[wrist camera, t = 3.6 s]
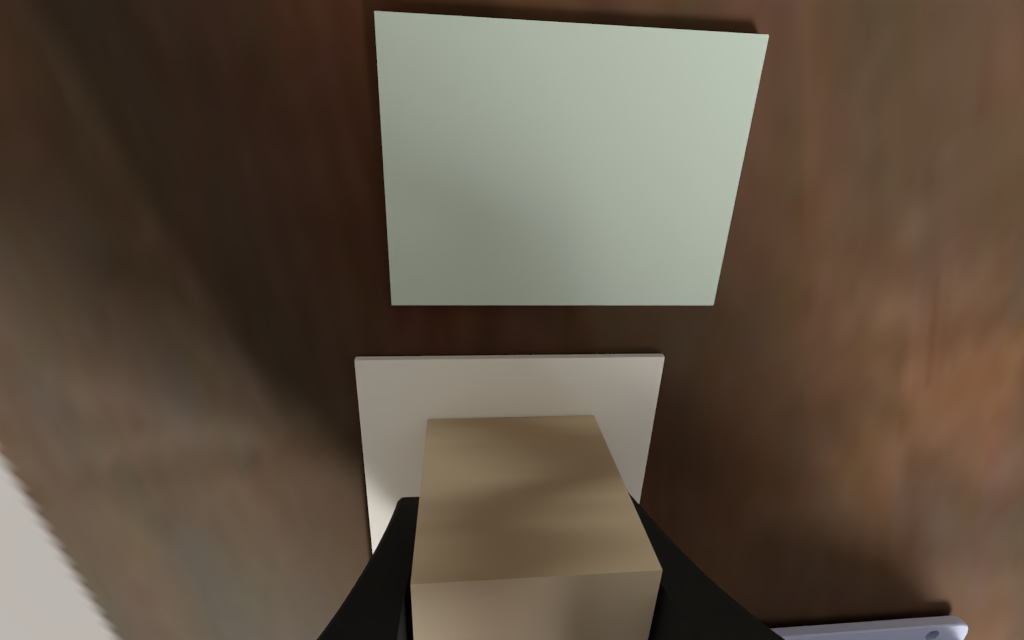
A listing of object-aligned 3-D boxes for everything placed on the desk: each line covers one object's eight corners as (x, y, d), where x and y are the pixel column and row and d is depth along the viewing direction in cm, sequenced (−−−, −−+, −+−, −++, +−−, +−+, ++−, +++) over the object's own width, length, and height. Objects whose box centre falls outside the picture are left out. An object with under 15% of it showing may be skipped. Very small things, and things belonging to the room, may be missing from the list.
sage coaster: (761, 36, 11) (769, 34, 10) (708, 301, 13) (713, 305, 13) (376, 13, 10) (373, 10, 9) (393, 301, 12) (391, 305, 12)
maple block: (594, 415, 14) (662, 569, 9) (579, 539, 15) (630, 722, 11) (427, 419, 13) (410, 584, 9) (432, 546, 15) (419, 741, 10)
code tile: (662, 353, 13) (665, 357, 13) (625, 571, 16) (627, 577, 16) (355, 356, 12) (354, 361, 12) (376, 585, 16) (375, 592, 15)
